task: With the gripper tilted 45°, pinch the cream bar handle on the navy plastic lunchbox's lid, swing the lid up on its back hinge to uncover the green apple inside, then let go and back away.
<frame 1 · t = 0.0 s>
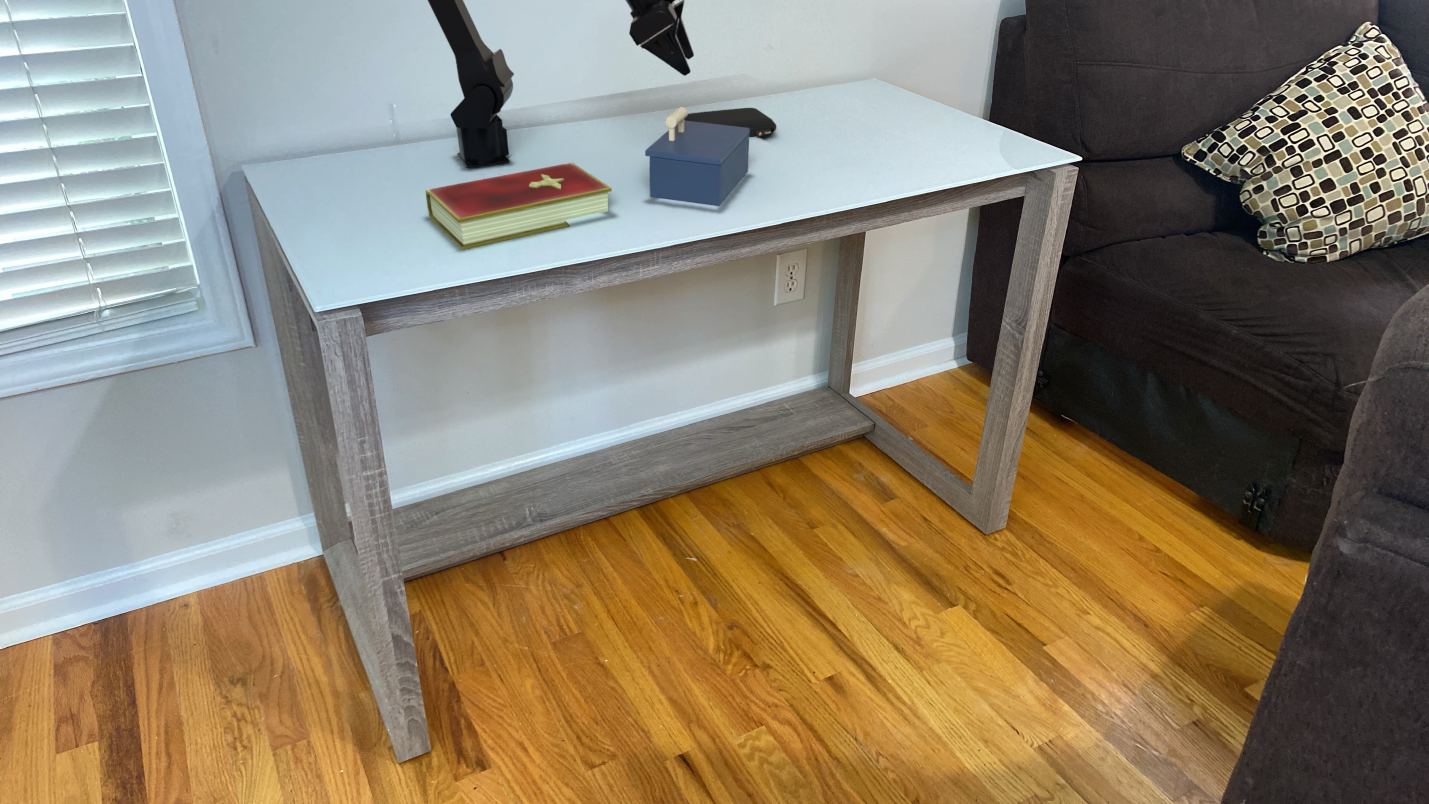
hand: (689, 65, 138), 15 cm above the table, tool tilted 35°, fingers open, 9 cm apart
hardcover book: (521, 218, 128), on the table
apple: (694, 190, 135), point 1 cm above the table, touching lunchbox
lunchbox lid: (699, 129, 134), point 9 cm above the table, hinge at 0.0°
lunchbox: (700, 188, 138), on the table
carrying case: (728, 136, 159), on the table
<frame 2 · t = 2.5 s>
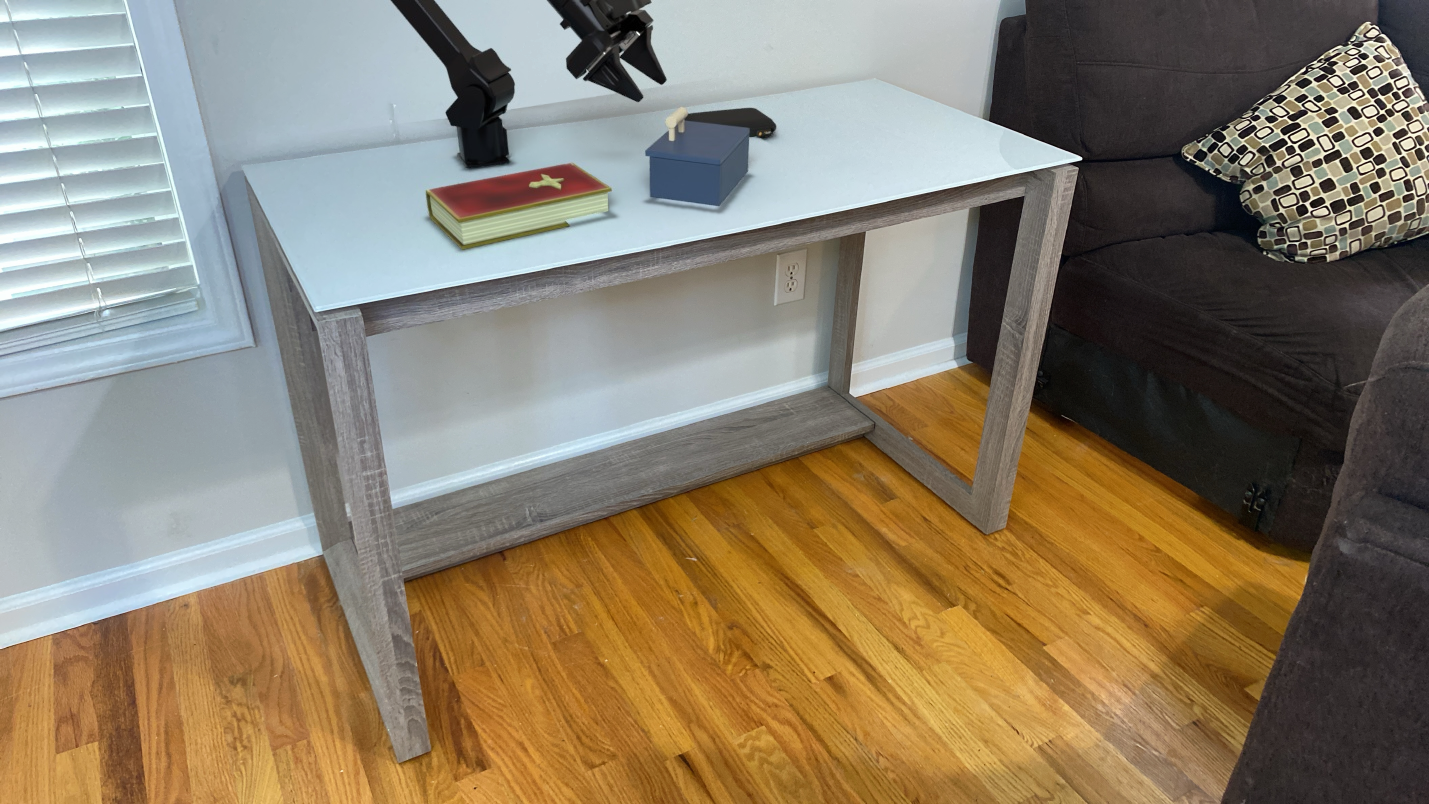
hand: (653, 91, 133), 13 cm above the table, tool tilted 45°, fingers open, 9 cm apart
nothing on the table moved.
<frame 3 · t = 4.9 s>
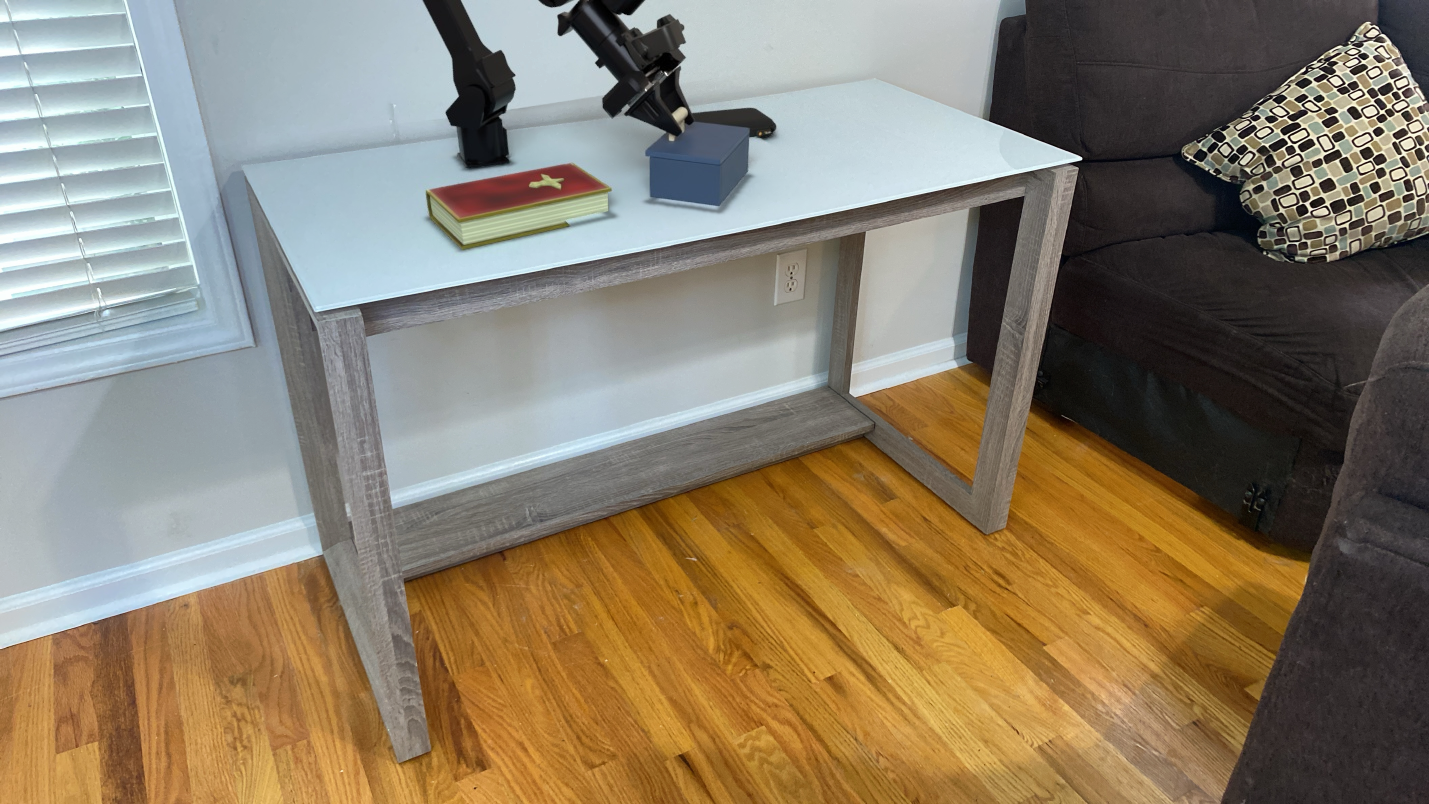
hand: (686, 128, 134), 8 cm above the table, tool tilted 45°, fingers closed on lunchbox lid, 5 cm apart
lunchbox lid: (699, 129, 134), point 9 cm above the table, hinge at 0.0°, touching gripper
everything else where it was.
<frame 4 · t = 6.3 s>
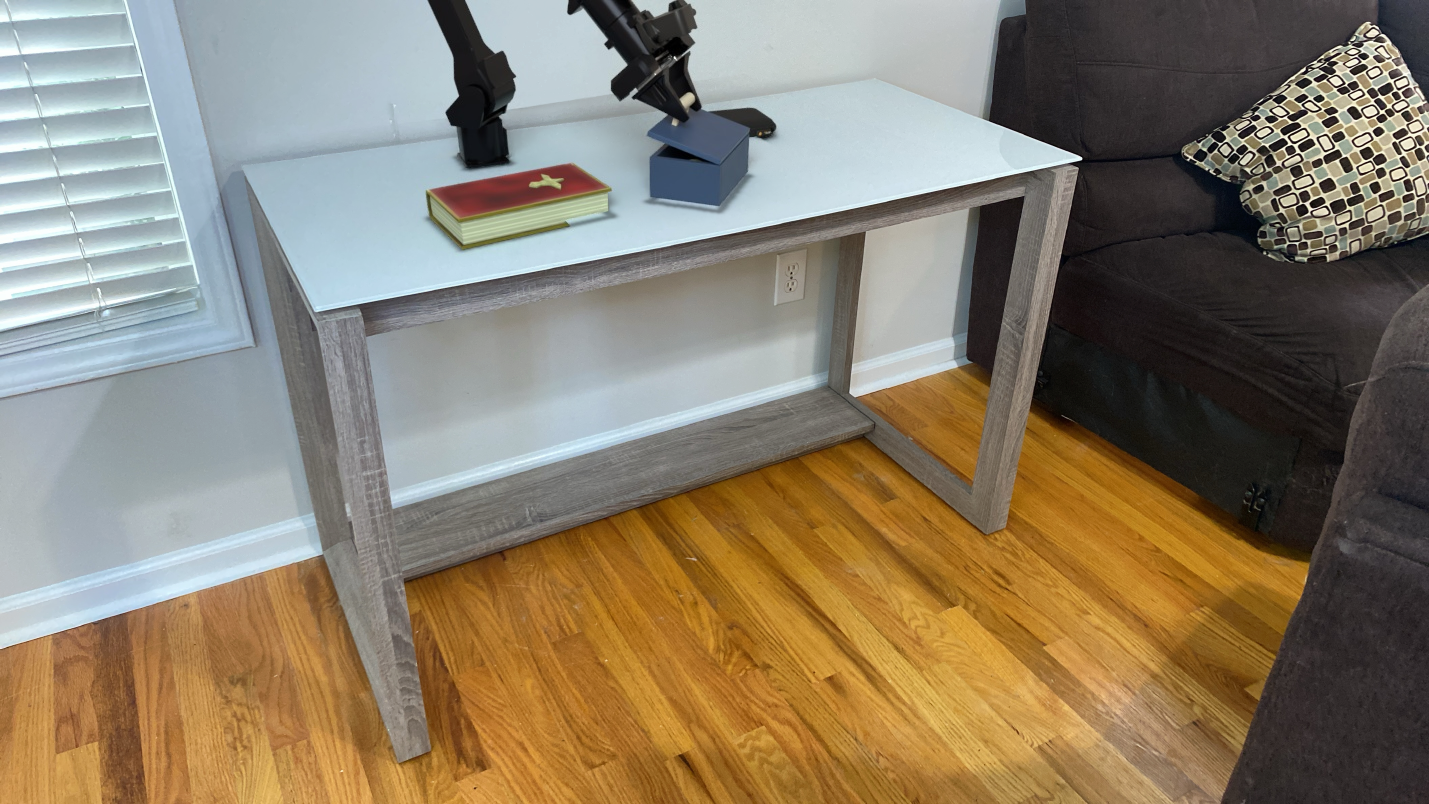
hand: (693, 115, 133), 10 cm above the table, tool tilted 40°, fingers closed on lunchbox lid, 5 cm apart
lunchbox lid: (703, 120, 133), point 10 cm above the table, hinge at 14.9°, touching gripper
everything else where it was.
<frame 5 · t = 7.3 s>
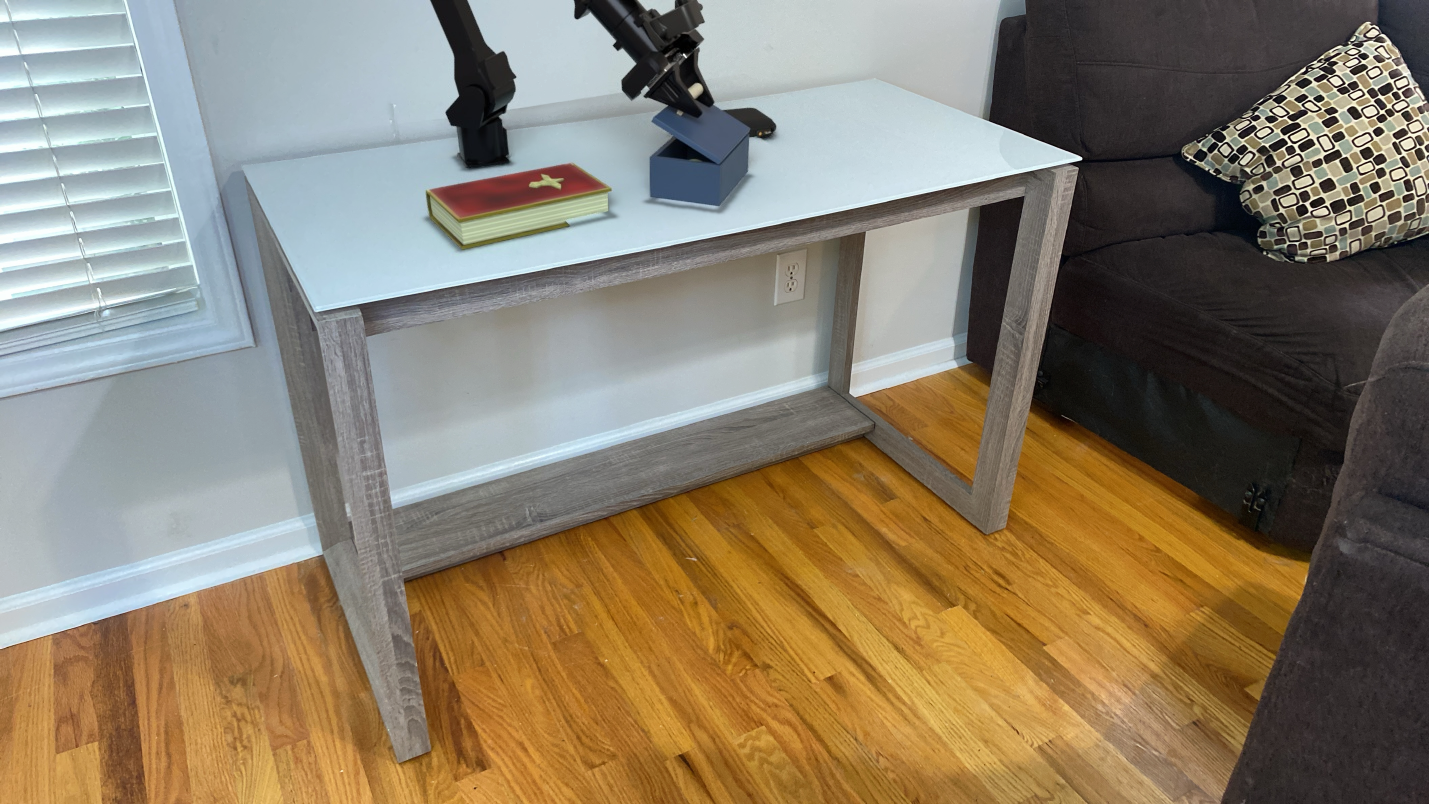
hand: (706, 110, 132), 11 cm above the table, tool tilted 45°, fingers closed on lunchbox lid, 5 cm apart
lunchbox lid: (708, 114, 132), point 11 cm above the table, hinge at 26.2°, touching gripper
everything else where it was.
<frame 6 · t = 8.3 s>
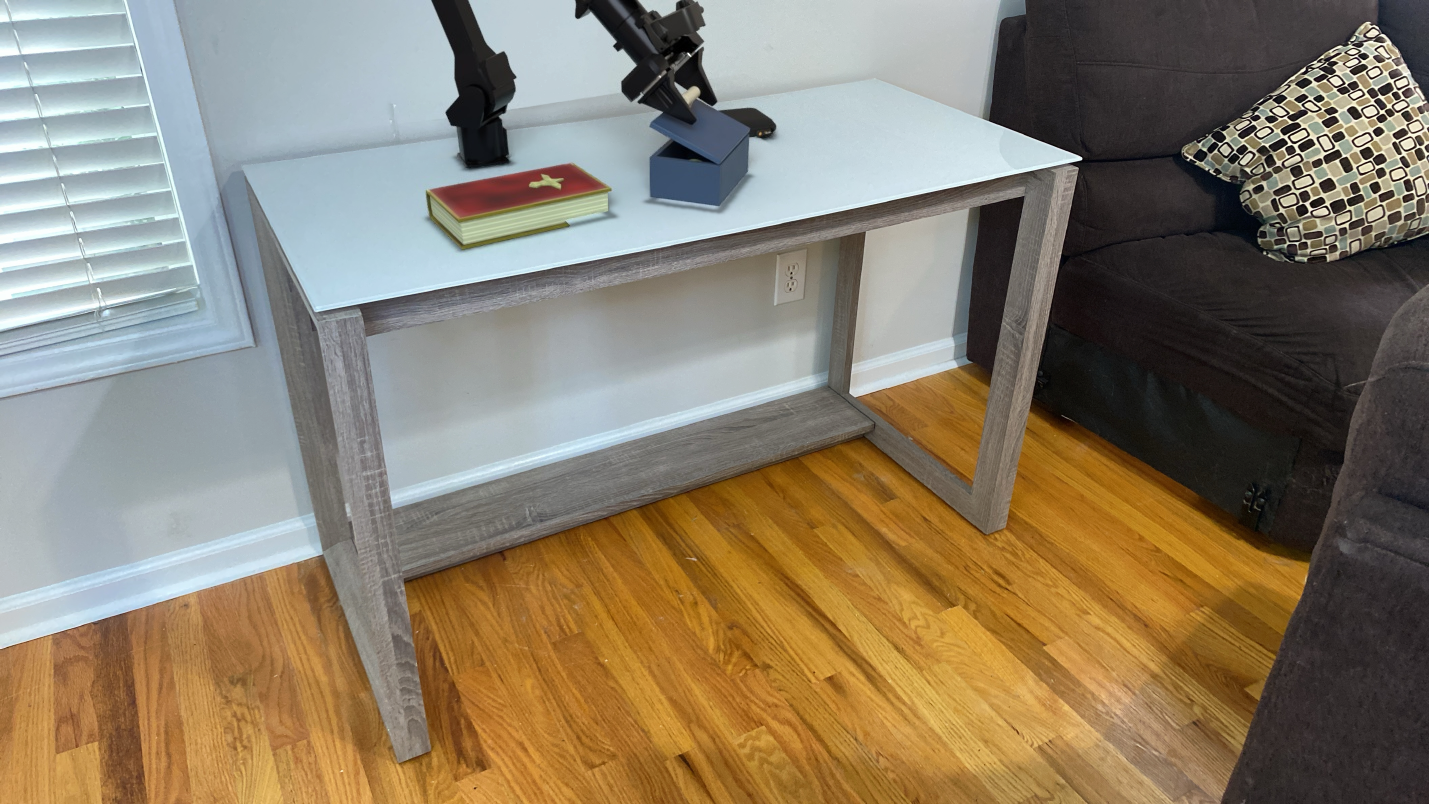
hand: (705, 113, 132), 11 cm above the table, tool tilted 45°, fingers open, 9 cm apart
lunchbox lid: (706, 116, 132), point 10 cm above the table, hinge at 22.2°
everything else where it was.
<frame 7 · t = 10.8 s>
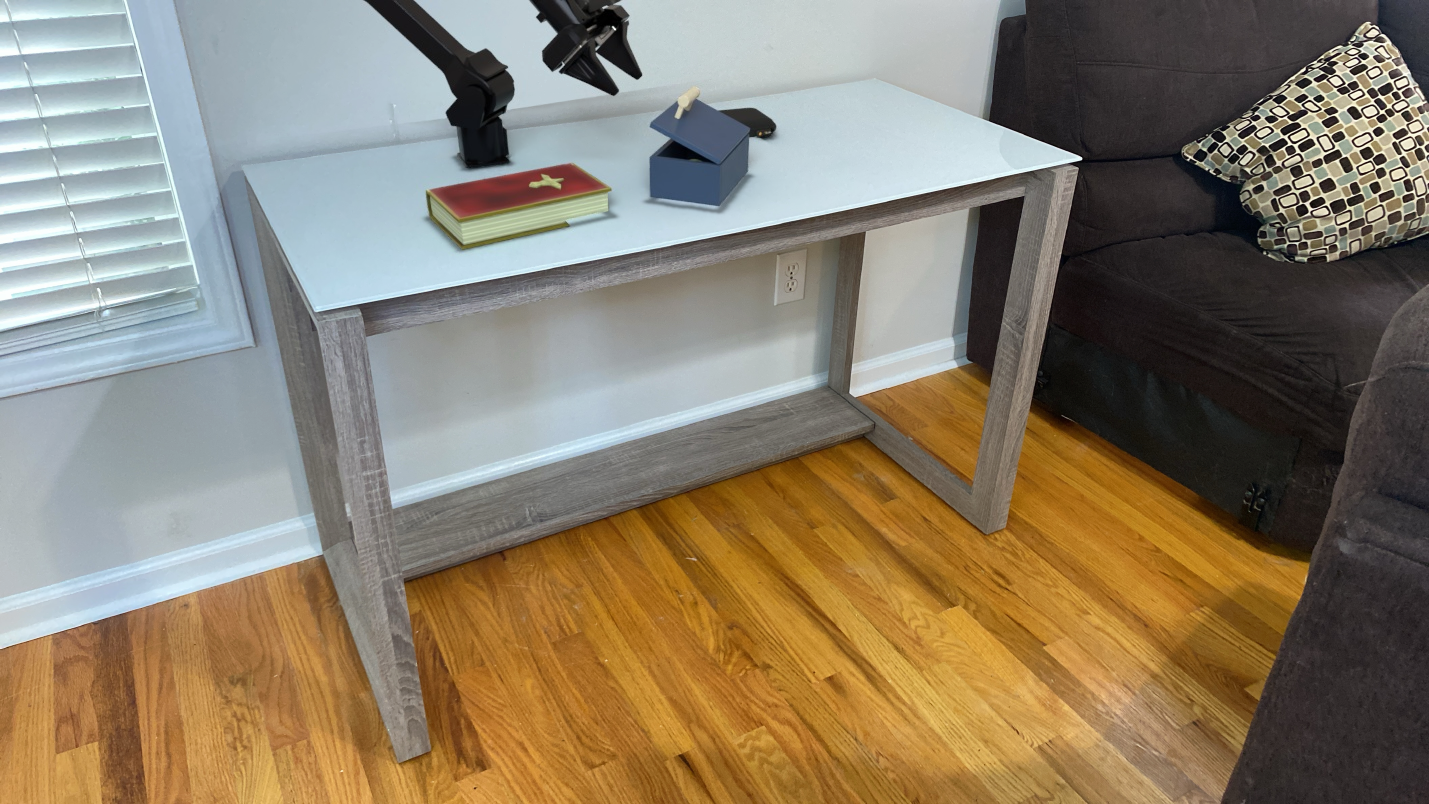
hand: (628, 85, 134), 13 cm above the table, tool tilted 45°, fingers open, 9 cm apart
nothing on the table moved.
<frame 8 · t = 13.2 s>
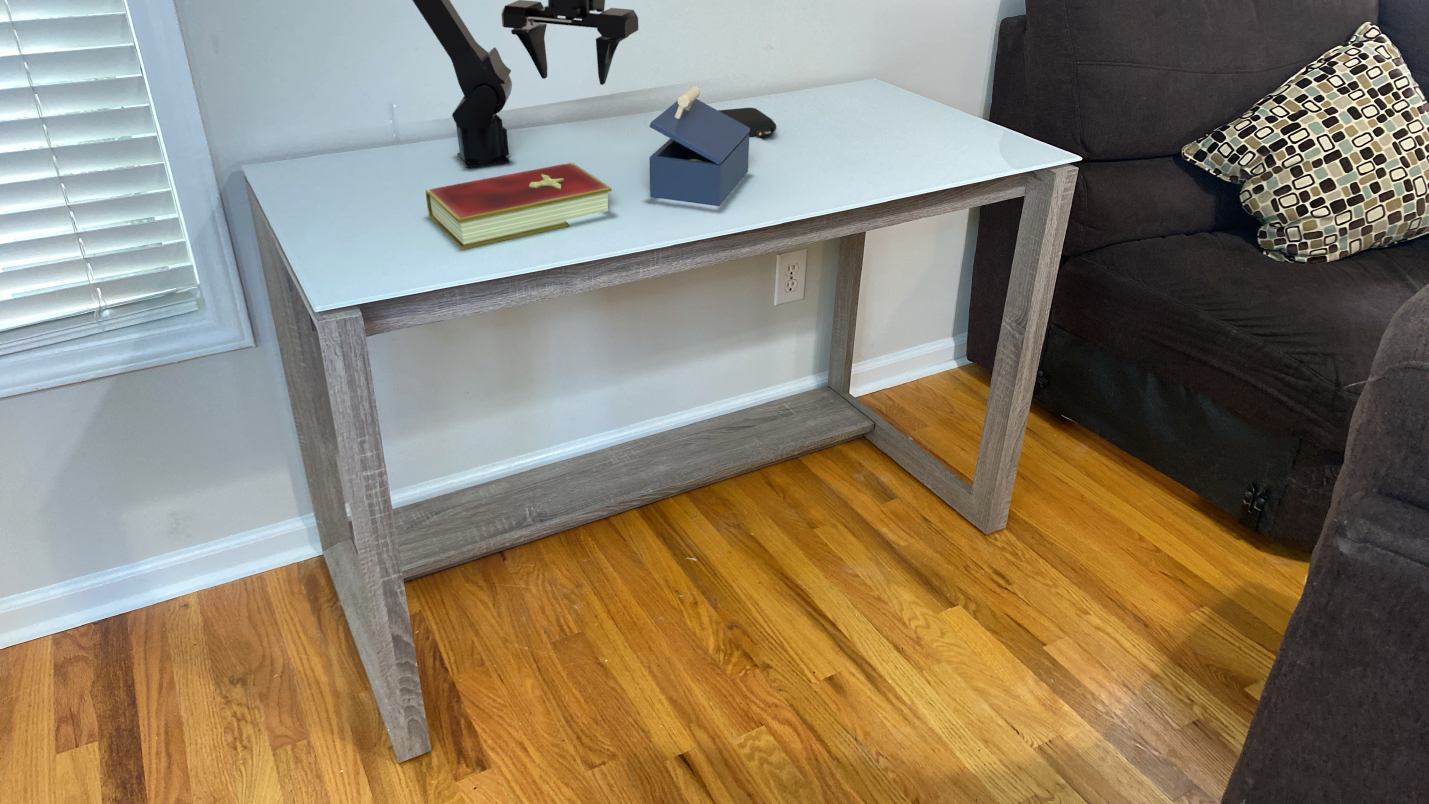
hand: (573, 81, 140), 12 cm above the table, tool pointing down, fingers open, 9 cm apart
nothing on the table moved.
at the end: lunchbox lid at +22° (first picture: +0°); the gripper is holding nothing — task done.
